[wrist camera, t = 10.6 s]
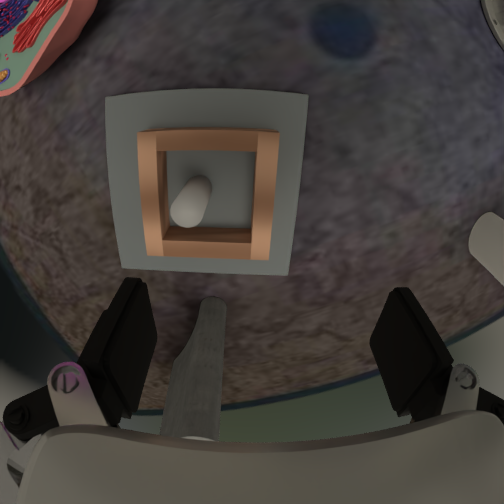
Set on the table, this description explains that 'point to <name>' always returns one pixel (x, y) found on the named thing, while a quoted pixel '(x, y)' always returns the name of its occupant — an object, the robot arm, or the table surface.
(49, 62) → the cell model
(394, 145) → the table surface
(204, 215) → the stand
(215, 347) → the hip flask
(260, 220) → the ring
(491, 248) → the cylindrical container
